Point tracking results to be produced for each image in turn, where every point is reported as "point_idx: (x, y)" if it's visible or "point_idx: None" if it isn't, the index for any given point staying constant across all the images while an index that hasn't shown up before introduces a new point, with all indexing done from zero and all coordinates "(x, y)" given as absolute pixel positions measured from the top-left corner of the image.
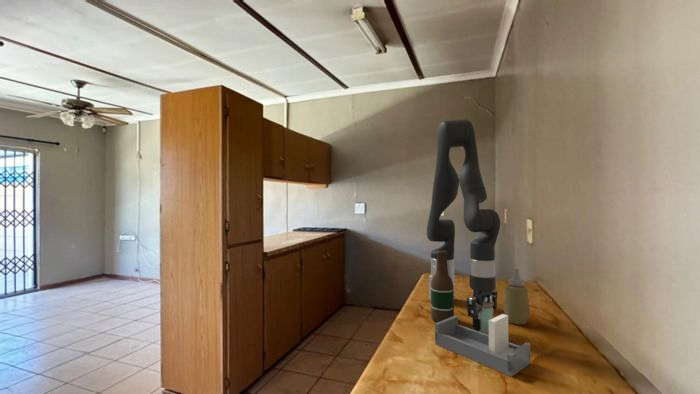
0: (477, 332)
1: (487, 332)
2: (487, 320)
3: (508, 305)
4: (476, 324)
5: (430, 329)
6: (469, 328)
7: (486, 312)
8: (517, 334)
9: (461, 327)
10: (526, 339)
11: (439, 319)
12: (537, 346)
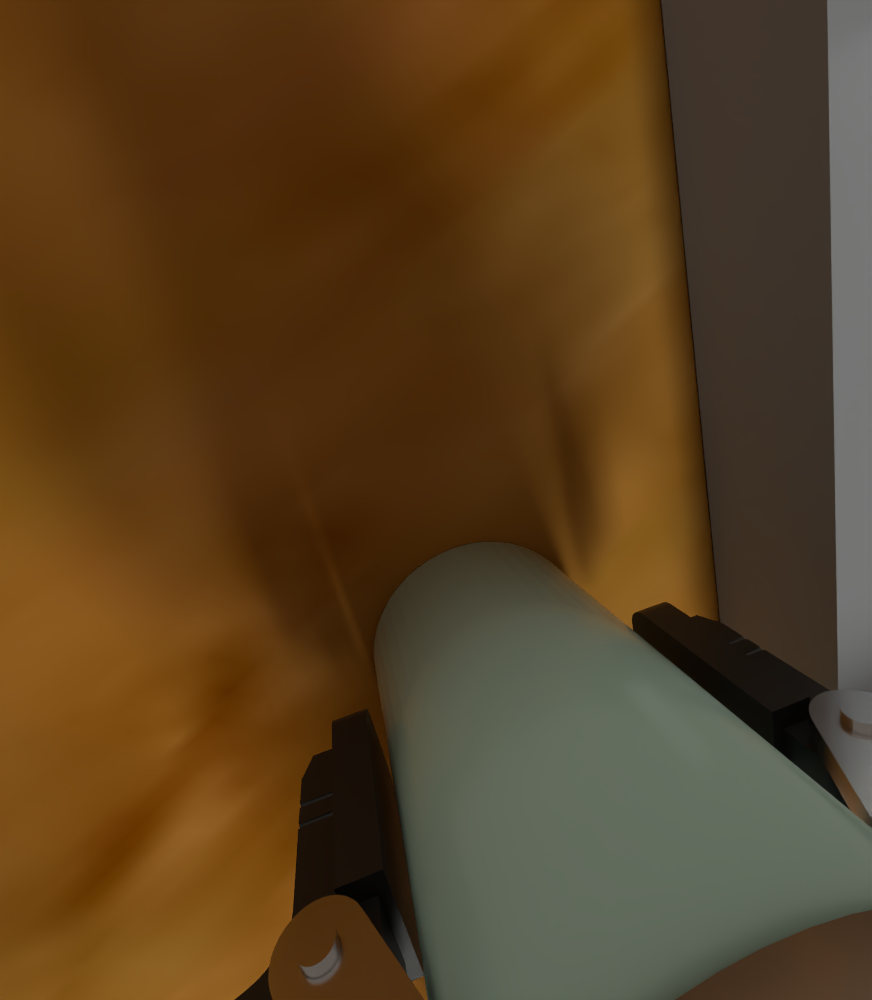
0: (867, 483)
1: (541, 570)
2: (639, 660)
3: None
4: (766, 655)
5: None
6: (840, 624)
7: (810, 790)
8: (25, 490)
9: (868, 686)
10: (23, 300)
11: None
12: (50, 22)
